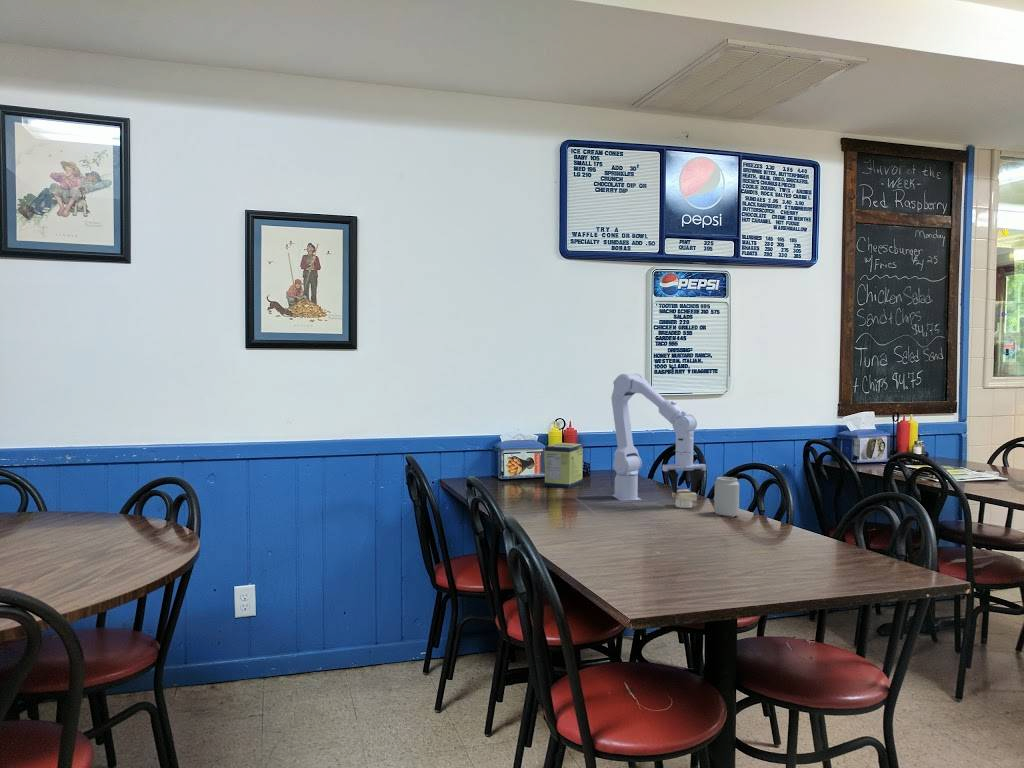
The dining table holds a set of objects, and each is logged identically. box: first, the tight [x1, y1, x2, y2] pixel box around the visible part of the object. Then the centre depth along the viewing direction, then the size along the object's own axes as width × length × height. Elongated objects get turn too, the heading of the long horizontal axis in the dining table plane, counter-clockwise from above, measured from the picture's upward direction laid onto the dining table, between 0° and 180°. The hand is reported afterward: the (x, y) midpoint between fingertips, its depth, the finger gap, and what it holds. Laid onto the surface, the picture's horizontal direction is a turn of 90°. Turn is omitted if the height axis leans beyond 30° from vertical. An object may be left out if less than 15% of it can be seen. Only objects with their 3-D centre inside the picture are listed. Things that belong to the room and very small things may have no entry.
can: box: [713, 476, 740, 518], centre depth 238 cm, size 8×8×12 cm
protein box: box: [544, 442, 584, 489], centre depth 294 cm, size 10×16×16 cm
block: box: [671, 489, 698, 502], centre depth 249 cm, size 8×6×2 cm
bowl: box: [675, 499, 693, 509], centre depth 249 cm, size 5×5×3 cm
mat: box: [630, 501, 668, 511], centre depth 250 cm, size 12×9×1 cm
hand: (683, 492), depth 249 cm, fingers open, 6 cm apart
